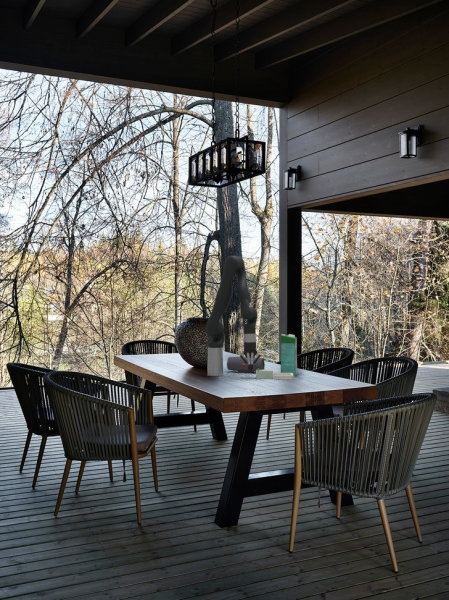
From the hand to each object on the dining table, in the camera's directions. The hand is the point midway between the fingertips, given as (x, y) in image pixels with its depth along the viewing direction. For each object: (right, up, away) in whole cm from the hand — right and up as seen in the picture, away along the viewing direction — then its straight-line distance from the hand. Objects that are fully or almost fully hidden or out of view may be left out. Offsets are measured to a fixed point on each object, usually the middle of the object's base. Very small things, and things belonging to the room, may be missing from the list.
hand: (250, 370), depth 373 cm
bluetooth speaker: (-2, -5, +27) cm, 28 cm away
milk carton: (+24, -5, +15) cm, 29 cm away
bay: (+19, -5, -1) cm, 20 cm away
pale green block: (+8, -5, -1) cm, 9 cm away
